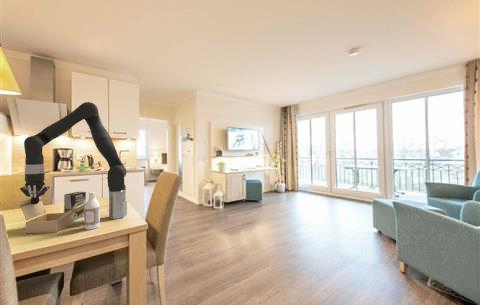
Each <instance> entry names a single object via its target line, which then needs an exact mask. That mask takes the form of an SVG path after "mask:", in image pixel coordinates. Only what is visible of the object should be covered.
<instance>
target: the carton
mask: <svg viewBox="0 0 480 305" xmlns="http://www.w3.org/2000/svg"><path fill="white" fill-rule="evenodd" d="M65 214H66V213H64V212H51V213H44V214H42V215H39V216H37V217H34V218H32V219H29V220H27V221H25V234H27V235H28V234H32V235H33V234H47V233H58V232H60V231H61V230H63V229H65V228H67V227H69V226H70V225H72V224H74V223H75V220H74V213H72V214H70V215H67V216H65V217H63V218H61V219H59V218H60V217H62V216H63V215H65Z"/></svg>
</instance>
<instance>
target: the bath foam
mask: <svg viewBox="0 0 480 305" xmlns="http://www.w3.org/2000/svg"><path fill="white" fill-rule="evenodd" d="M83 218H84V221H83V222H84V223H83V224H84V229H85V230H89V231H90V230H95V229H97V228H100V226H101V205H100V202H99V201H98V199H97V198H96V191H90V192H88V200H87V201H86V204H85V208H84V217H83Z"/></svg>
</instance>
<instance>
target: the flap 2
mask: <svg viewBox="0 0 480 305" xmlns="http://www.w3.org/2000/svg"><path fill="white" fill-rule="evenodd" d="M85 204H86V203H84V204H82V205H80V206H78V207H75V208H74V209H72V210H71V211H69V212H68V213H66V214H65V215H63V216H62V217H60V218H59V219H61V218H63V217H65V216H67V215H70V214H72V213H74V212H75V211H77V210H78V209H80V208H81V207H83V206H84V205H85Z"/></svg>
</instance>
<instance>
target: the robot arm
mask: <svg viewBox="0 0 480 305" xmlns="http://www.w3.org/2000/svg"><path fill="white" fill-rule="evenodd" d="M83 120H84V121H85V123H86V124H87V126H88V127H89V128H88V129H89V131H90V134H91V137H92V140H93V143H94V144H95V147H96V148H97V150H98V152H99V153H100V155H101V156H102V157H103V158H104V159H105V161H106V163H107V164H108V166H109V169H108V170H107V187H108V218H109V219H111V220H116V219H123V218H125V217H126V216H127V215H128V202H127V200H126V199H127V198H126V197H127V196H126V192H127V191H126V190H127V189H126V183H125V177H126V176H127V169H126V166H125V165H124V164H123V162H122V161H121V158H120V157H119V154H118V151H117V149H116V147H115V144H114V142H113V140H112V137H111V136H110V133H109V132H108V131H107V129H106V128H105V126H104V125H103V123H102V120H101V117H100V114H99V108H98V106H97V105H96V104H94V103H93V102H90V101H86V102H83V103H81V104H80V105H78V106H77V107H76V108H75V109H74V110H72V111H71V112H70V113H68V114H67V115H66V116H64V117H62V118H61V119H59V120H57V121H55V122H53V123H52V124H50V125H48V126H46V127H44V128H43V129H42V130H41V131H40V132H38V133H35V134H34V135H30V136H27V137H26V138H24V139H25V140H23V141H24V142H23V147H24V153H25V157H24V158H25V165H24V182H25V184H24V186H23V187H20V188H19V190H20V192H22V193H23V194H24V195H25V196H26V197H29V198H30V199H31V203H32V204H38V203H39V197H40V198H41V197H42V196H44V195H45V193H47V191H48V190H49V189H50V186H47V185H46V183H45V157H44V154H43V148H44V147H45V146H46V145H48V144H49V143H50V142H52V141H53V140H55V139H57V138H59V137H60V136H62V135H64V134H66V133H67V132H68V131H69V130H70V129H72V128H73V127H74V126H75V125H77V124H79V123H80V122H81V121H83Z"/></svg>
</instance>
